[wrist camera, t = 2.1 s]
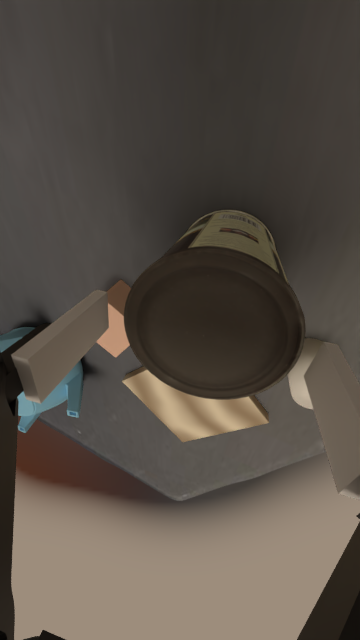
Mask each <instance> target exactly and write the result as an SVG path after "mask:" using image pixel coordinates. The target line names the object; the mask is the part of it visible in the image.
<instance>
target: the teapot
mask: <svg viewBox="0 0 360 640" xmlns="http://www.w3.org/2000/svg"><path fill="white" fill-rule="evenodd" d="M33 329H34V327H21V328H17V329H14V330H12V331H10V332H9V333H7V334H3V335H0V352H1V353H2V352H3V351H4V350H6V349H7V348H8V347H10V346H11V345H12V344H14V343H15V342H17V341H18V340H19V339H22V337H23V336H25V335H26V334H29V332H30V331H32V330H33ZM82 392H83V368H82V363H81V360H80V361H79V362H78V363H77V364H76V365H75V366H74V367H73V368H72V370H71V371H70V372H69V373H68V374H67V375H66V376H65V377H64V379H63V380H62V381H61V382H60V383H59V384H58V385H57V386H56V387H55V389H54V390H53V391H52V392H51V393H50V394H49V395H48V396H47V398H46V399H45V400H44V401H43V402H42V403H41V404H40V403H36V402H33V401H30V400H26V397H25V394H24V391H23V392H22V393H21V394H20V395H19V396H18V397H17V398H18V401H19V405H18V415H19V416H22V417H21V420H20V423H19V425H18V429H19V430H20V431H22V432H24V433H26V432H27V431H28V429H29V428H30V427H31V425H32V424H33V423H34V421H35V420H36V419H37V418H38V416H39V415H40V414H41V412H43V411H46V410H48V409H51V408H53V407H55V406H57V405H59V404H61V403H62V402H64V401H65V400H67V399H68V409H67V414H68V416H73V417H79V414H80V407H81V400H82Z"/></svg>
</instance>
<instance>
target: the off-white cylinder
mask: <svg viewBox="0 0 360 640" xmlns="http://www.w3.org/2000/svg"><path fill="white" fill-rule="evenodd" d="M322 343H323V341H321V340H318V339H314V338H305V341H304V346H303V349H302V352H301V355H300V357H299V359H298V361H297V363H296V364H295V366H294V367H293V368H292V370H291V371H290V372H289V373H288V379H289V384H290V389H291V394H292V397H293V399H294V400H295V402H297V403H298V404H299V405H301V406H303V407H305V408H308V409H313V406H312V403H311V399H310V396H309V393H308V389H307V386H306V382H305V379H304V374H305V373H306V371H307V369H308V367H309V366H310V364H311V362H312V360H313V359H314V357H315V355H316V353H317V352H318V350H319V348H320V346H321V345H322Z"/></svg>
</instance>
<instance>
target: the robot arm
mask: <svg viewBox="0 0 360 640" xmlns="http://www.w3.org/2000/svg"><path fill="white" fill-rule="evenodd" d="M108 328H109V317H108V294H107V292H105V291H101V290H95V291H94V292H92V293H91V294H90V295H88V296H87V297H86V298H85V299H83V300H82V301H81V302H79V303H78V304H77V305H75V306H74V307H73V308H72V309H70V310H69V311H68V312H66V313H65V314H64V315H62V316H61V317H60V318H59V319H57V320H56V321H55V322H53V323H52V324H50V323H45V324H43V325H40V326H38V327H36V328H34V329H33V330H32V331H30V332H29V334H26V335H25V336H23V337H22V339H19V340H18V341H17V342H15V343H14V344H12V345H11V346H10V347H8V348H7V349H6V350H4V351H3V352H2V353H1V352H0V640H14V622H15V621H14V619H15V617H14V616H15V614H14V600H13V595H12V589H11V568H12V544H13V522H14V498H15V475H16V474H15V472H16V451H17V450H16V449H17V428H18V405H19V401H18V398H17V397H18V396H19V395H20V394H21V393H22V392H23V391H24V394H25V397H26V400H30V401H33V402H36V403H40V404H41V403H42V402H43V401H44V400H45V399H46V398H47V396H48V395H49V394H50V393H51V392H52V391H53V390H54V389H55V387H56V386H57V385H58V384H59V383H60V382H61V381H62V380H63V379H64V377H65V376H66V375H67V374H68V373H69V372H70V371H71V370H72V368H73V367H74V366H75V365H76V364H77V363H78V362H79V361H80V359H81V358H82V357H83V356H84V355H85V354H86V353H87V352H88V351H89V349H90V348H91V347H92V346H93V345H94V344H95V343H96V342H97V340H98V339H99V338H100V337H101V336H102V335H103V334H104V333H105V331H106V330H107V329H108ZM304 379H305V382H306V386H307V389H308V393H309V396H310V399H311V403H312V406H313V410H314V413H315V416H316V420H317V423H318V427H319V430H320V433H321V437H322V440H323V444H324V447H325V450H326V453H327V457H328V461H329V464H330V467H331V471H332V474H333V478H334V481H335V484H336V487H337V491H338V494H340V495H344V496H347V497H350V498H353V499H357V500H360V384H359V383H358V381H357V379H356V377H355V375H354V373H353V372H352V370H351V368H350V366H349V364H348V363H347V361H346V359H345V357H344V355H343V353H342V352H341V350H340V348H339V346H338V345H337V344H333V343H328V342H324V341H323V343H322V345H321V346H320V348H319V350H318V352H317V353H316V355H315V357H314V359H313V360H312V362H311V364H310V366H309V367H308V369H307V371H306V373H305V374H304ZM357 517H358V518H359V519H360V513H359V514H358V515H357ZM24 640H65V639H63V638H61V637H58V636H56V635H54V634H51V633H49V632H47V631H45V630H43V631H42V633H41V635H40V636H35V637H31V638H27V639H24ZM297 640H360V522H359V524H358V526H357V528H356V530H355V532H354V534H353V535H352V537H351V539H350V541H349V543H348V545H347V547H346V549H345V550H344V552H343V554H342V556H341V558H340V560H339V562H338V564H337V565H336V568H335V569H334V571H333V573H332V575H331V577H330V579H329V580H328V582H327V584H326V586H325V588H324V590H323V592H322V594H321V595H320V597H319V599H318V601H317V603H316V605H315V607H314V609H313V611H312V612H311V614H310V616H309V618H308V620H307V622H306V624H305V626H304V627H303V629H302V631H301V633H300V635H299V637H298V639H297Z"/></svg>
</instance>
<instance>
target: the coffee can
mask: <svg viewBox="0 0 360 640" xmlns="http://www.w3.org/2000/svg"><path fill="white" fill-rule="evenodd" d="M124 327H125V332H126V336H127V339H128V341H129V344H130V346H131V348H132V350H133V352H134V354H135V355H136V357H137V358H138V360H139V361H140V362H141V363H142V365H143V366H144V367H145V368H146V369H147V370H148V371H149V372H150V373H151V374H153V375H154V376H155V377H156V378H158V379H159V380H160V381H162V382H163V383H165V384H167V385H168V386H170V387H172V388H174V389H176V390H179V391H181V392H183V393H186V394H189V395H192V396H196V397H200V398H206V399H215V400H230V399H239V398H244V397H249V396H252V395H255V394H258V393H261V392H263V391H265V390H267V389H269V388H271V387H272V386H274V385H275V384H277V383H279V382H280V381H281V380H282V379H283V378H284V377H285V376H286V375H287V374H288V373H289V372H290V371H291V370H292V368H293V367H294V366H295V364H296V363H297V361H298V359H299V357H300V355H301V352H302V349H303V346H304V341H305V319H304V315H303V312H302V309H301V306H300V304H299V301H298V299H297V297H296V295H295V293H294V291H293V290H292V288H291V287H290V285H289V283H288V280H287V278H286V275H285V273H284V270H283V267H282V264H281V261H280V259H279V256H278V254H277V251H276V247H275V243H274V240H273V237H272V235H271V233H270V232H269V230H268V229H267V228H266V226H265V225H264V224H263V223H262V222H261V221H260V220H258V219H257V218H255V217H254V216H252V215H250V214H248V213H245V212H242V211H237V210H220V211H214V212H212V213H209V214H207V215H205V216H203V217H201V218H200V219H198V220H197V221H196V222H195V223H194V224H192V225H191V227H190V228H189V229H188V230H187V232H186V233H185V234H184V235H183V236H182V237H181V238H180V239H179V240H178V241H177V242H176V243H175V244H174V245H173V246H172V247H171V248H170V249H169V250H168V251H167V253H166V254H164V256H163V257H162V258H161V259H159V260H157V261H156V262H155V263H153V264H152V265H150V266H149V267H148V268H147V269H146V270H145V271H144V272H143V273H142V274H141V275H140V276H139V277H138V279H137V280H136V281H135V283H134V284H133V286H132V288H131V290H130V292H129V294H128V297H127V300H126V303H125V309H124Z"/></svg>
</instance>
